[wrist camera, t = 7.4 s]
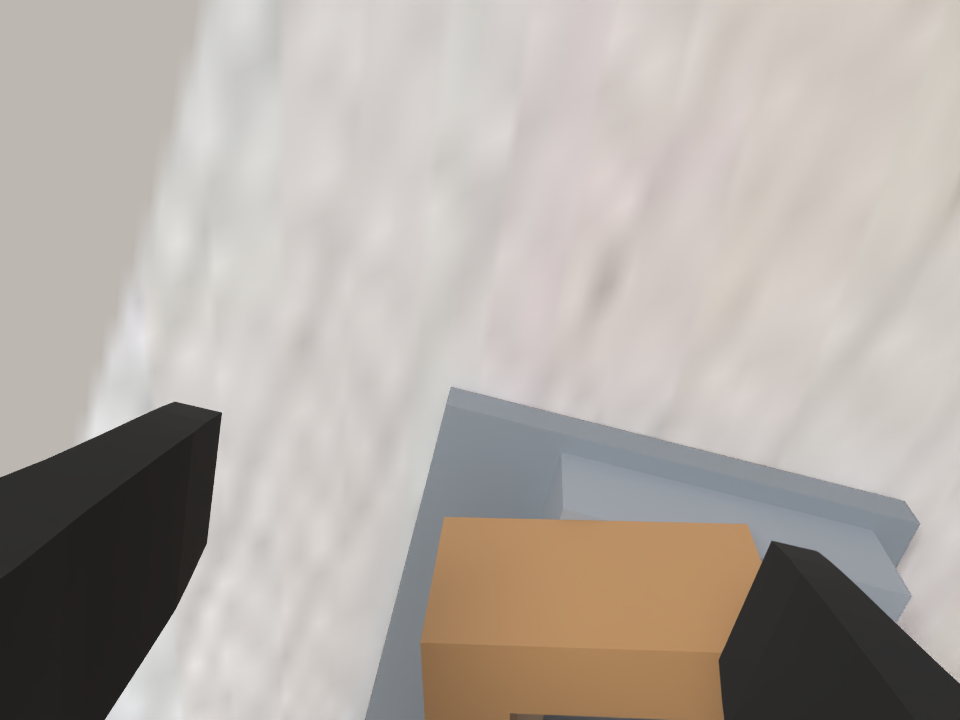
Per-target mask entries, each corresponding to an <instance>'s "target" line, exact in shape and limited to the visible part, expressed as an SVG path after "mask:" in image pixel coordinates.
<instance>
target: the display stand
mask: <svg viewBox="0 0 960 720" xmlns="http://www.w3.org/2000/svg"><path fill="white" fill-rule="evenodd" d="M444 517H468V518H511V519H554V520H597V521H640V522H684V523H727V524H748V527H749V530H750V532H751V535H752V538H753V540H754V543H755V546H756V548H757V551H758V554H759V557H760V559H761V562H762V561H763V559H764V556H765V554H766V552H767V550H768V547H769V545H770V543H771V541H776V542H780V543H785V544H789V545H793V546H798V547H802V548H806V549H810V550H815V551H818V552H819V553H821V554H822V555H823V556H824V557H826V558H827V559H828V560H829V561H830V562H832V563H833V564H834V565H835V566H836V567H837V568H838V569H840V570H841V571H842V572H843V573H844V574H845V575H846V576H847V577H848V578H849V579H850V580H852V581H853V582H854V583H855V584H856V585H857V586H858V587H859V588H860V589H861V590H862V591H863V592H864V593H865V594H866V595H867V596H868V597H869V598H870V599H871V600H873V601H874V602H875V603H876V604H877V605H878V606H879V607H880V608H881V609H882V610H883V611H884V612H885V613H886V614H887V615H888V616H889V617H890V618H891V619H892V620H893V621H894V622H895V623H897V621H898V619H899V617H900V616H901V614H902V612H903V610H904V609H905V607H906V605H907V603H908V601H909V600H910V598H911V596H912V595H911V593H910V592H909V590H908V588H907V587H906V585H905V583H904V582H903V580H902V578H901V577H900V575H899V573H898V572H897V570H896V567H897V565H898V563H899V561H900V560H901V558H902V556H903V554H904V552H905V550H906V549H907V547H908V545H909V543H910V541H911V540H912V538H913V536H914V534H915V532H916V530H917V529H918V527H919V525H920V523H919V521H918V520H917V518H916V517H915V515H914V514H913V513H912V511H911V510H910V508H909V507H908V505H907V504H906V502H905V501H901V500H897V499H893V498H889V497H885V496H881V495H878V494H874V493H870V492H866V491H862V490H858V489H854V488H850V487H846V486H842V485H838V484H834V483H830V482H826V481H822V480H818V479H814V478H810V477H806V476H802V475H798V474H794V473H790V472H786V471H782V470H778V469H774V468H770V467H766V466H762V465H758V464H754V463H750V462H747V461H743V460H739V459H735V458H731V457H727V456H723V455H719V454H715V453H711V452H707V451H703V450H699V449H695V448H691V447H687V446H683V445H679V444H675V443H671V442H667V441H663V440H659V439H655V438H651V437H647V436H643V435H639V434H635V433H631V432H627V431H623V430H619V429H616V428H612V427H608V426H604V425H600V424H596V423H592V422H588V421H584V420H580V419H576V418H572V417H568V416H564V415H560V414H556V413H552V412H548V411H544V410H540V409H536V408H532V407H528V406H524V405H520V404H516V403H512V402H508V401H504V400H500V399H496V398H492V397H488V396H485V395H481V394H477V393H473V392H469V391H465V390H461V389H457V388H453V387H451V389H450V393H449V396H448V400H447V404H446V408H445V412H444V416H443V420H442V424H441V427H440V431H439V435H438V439H437V443H436V447H435V451H434V455H433V458H432V462H431V466H430V470H429V474H428V478H427V482H426V486H425V489H424V493H423V497H422V501H421V505H420V509H419V513H418V517H417V520H416V524H415V528H414V532H413V536H412V540H411V544H410V548H409V551H408V555H407V559H406V563H405V567H404V571H403V575H402V579H401V582H400V586H399V590H398V594H397V598H396V602H395V606H394V610H393V613H392V617H391V621H390V625H389V629H388V633H387V637H386V641H385V644H384V648H383V652H382V656H381V660H380V664H379V668H378V672H377V675H376V679H375V683H374V687H373V691H372V695H371V699H370V703H369V706H368V710H367V714H366V718H365V720H425V714H424V697H423V680H422V663H421V645H420V642H421V636H422V631H423V626H424V621H425V615H426V610H427V605H428V599H429V594H430V589H431V583H432V578H433V573H434V567H435V562H436V557H437V552H438V546H439V541H440V536H441V530H442V525H443V520H444ZM517 720H668V719H643V718H617V717H591V716H566V715H540V714H517Z"/></svg>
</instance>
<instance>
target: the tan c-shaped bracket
mask: <svg viewBox="0 0 960 720" xmlns="http://www.w3.org/2000/svg"><path fill="white" fill-rule="evenodd" d="M761 563H762V562H761V559H760V557H759V554H758V551H757V548H756V546H755V543H754V540H753V538H752V535H751V532H750V530H749V527H748V524H727V523H684V522H640V521H597V520H554V519H511V518H468V517H444V520H443V525H442V530H441V536H440V541H439V546H438V552H437V557H436V562H435V567H434V573H433V578H432V583H431V589H430V594H429V599H428V605H427V610H426V615H425V621H424V626H423V631H422V636H421V642H420V645H421V663H422V680H423V697H424V714H425V720H517V714H540V715H566V716H591V717H617V718H643V719H668V720H724V714H723V706H722V696H721V684H720V672H719V658H720V656H721V653H722V651H723V649H724V647H725V644H726V642H727V640H728V638H729V635H730V633H731V631H732V629H733V626H734V624H735V622H736V620H737V617H738V615H739V613H740V611H741V608H742V606H743V604H744V602H745V599H746V597H747V595H748V593H749V590H750V588H751V586H752V583H753V581H754V579H755V577H756V574H757V572H758V570H759V568H760V565H761Z"/></svg>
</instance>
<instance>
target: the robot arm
mask: <svg viewBox="0 0 960 720" xmlns="http://www.w3.org/2000/svg"><path fill="white" fill-rule="evenodd" d="M221 416H222V413H221V412H217V411H213V410H208V409H204V408H200V407H195V406H191V405H187V404H182V403H178V402H173V403H170V404H168V405H165V406H163V407H160V408H158V409H156V410H153V411H151V412H149V413H147V414H144V415H142V416H140V417H138V418H136V419H134V420H131V421H129V422H127V423H125V424H123V425H121V426H119V427H116V428H114V429H112V430H110V431H108V432H106V433H104V434H101V435H99V436H97V437H95V438H93V439H90V440H88V441H86V442H84V443H81V444H79V445H77V446H75V447H73V448H71V449H68V450H66V451H64V452H62V453H59V454H57V455H55V456H53V457H51V458H48V459H46V460H43V461H41V462H38V463H36V464H33V465H31V466H28V467H26V468H23V469H21V470H18V471H16V472H13V473H11V474H8V475H6V476H3V477H0V720H105V718H106V717H107V715H108V714H109V712H110V711H111V709H112V708H113V706H114V705H115V703H116V701H117V700H118V698H119V697H120V695H121V694H122V692H123V691H124V689H125V688H126V686H127V685H128V683H129V681H130V680H131V678H132V677H133V675H134V674H135V672H136V671H137V669H138V668H139V666H140V665H141V663H142V661H143V660H144V658H145V657H146V655H147V654H148V652H149V650H150V649H151V647H152V646H153V644H154V643H155V641H156V640H157V638H158V636H159V635H160V633H161V632H162V630H163V629H164V627H165V625H166V624H167V622H168V621H169V619H170V617H171V616H172V614H173V613H174V611H175V609H176V607H177V605H178V603H179V601H180V599H181V597H182V595H183V593H184V591H185V589H186V587H187V585H188V583H189V581H190V579H191V576H192V574H193V572H194V570H195V568H196V566H197V563H198V561H199V559H200V557H201V555H202V553H203V550H204V548H205V546H206V544H207V537H208V528H209V520H210V511H211V502H212V494H213V485H214V476H215V468H216V459H217V451H218V442H219V433H220V425H221ZM719 672H720V684H721V696H722V706H723V714H724V720H960V684H959V683H958V682H957V681H956V680H955V679H954V678H953V677H952V676H951V675H950V674H949V673H947V672H946V671H945V670H944V669H943V668H942V667H941V666H940V665H939V664H938V663H937V662H936V661H935V660H934V659H933V658H932V657H930V656H929V655H928V654H927V653H926V652H925V651H924V650H923V649H922V648H921V647H920V646H919V645H918V644H917V643H916V642H915V641H914V640H913V639H912V638H911V637H910V636H909V635H908V634H907V633H905V632H904V631H903V630H902V629H901V628H900V627H899V626H898V625H897V624H896V623H895V622H894V621H893V620H892V619H891V618H890V617H889V616H888V615H887V614H886V613H885V612H884V611H883V610H882V609H881V608H880V607H879V606H878V605H877V604H876V603H875V602H874V601H873V600H871V599H870V598H869V597H868V596H867V595H866V594H865V593H864V592H863V591H862V590H861V589H860V588H859V587H858V586H857V585H856V584H855V583H854V582H853V581H852V580H850V579H849V578H848V577H847V576H846V575H845V574H844V573H843V572H842V571H841V570H840V569H838V568H837V567H836V566H835V565H834V564H833V563H832V562H830V561H829V560H828V559H827V558H826V557H824V556H823V555H822V554H821V553H819V552H818V551H815V550H810V549H806V548H802V547H798V546H793V545H789V544H785V543H780V542H776V541H771V543H770V545H769V547H768V550H767V552H766V554H765V556H764V559H763V561H762V563H761V565H760V568H759V570H758V572H757V574H756V577H755V579H754V581H753V583H752V586H751V588H750V590H749V593H748V595H747V597H746V599H745V602H744V604H743V606H742V608H741V611H740V613H739V615H738V617H737V620H736V622H735V624H734V626H733V629H732V631H731V633H730V635H729V638H728V640H727V642H726V644H725V647H724V649H723V651H722V653H721V656H720V658H719Z"/></svg>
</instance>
